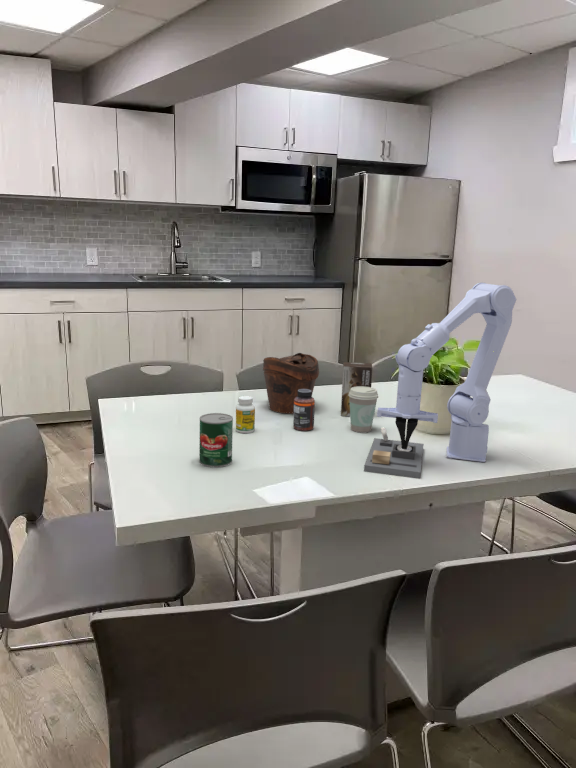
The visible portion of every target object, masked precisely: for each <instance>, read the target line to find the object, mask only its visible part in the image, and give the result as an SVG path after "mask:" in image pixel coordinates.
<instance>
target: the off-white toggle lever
mask: <svg viewBox="0 0 576 768" xmlns="http://www.w3.org/2000/svg"><path fill="white" fill-rule="evenodd" d="M380 431H381V435H382V439H384V440H389V436H388V432H387V430H386V428H385V427H381V428H380Z"/></svg>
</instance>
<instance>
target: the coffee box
mask: <svg viewBox="0 0 576 768" xmlns="http://www.w3.org/2000/svg"><path fill="white" fill-rule="evenodd" d="M342 364H343V365H342V382H341V383H342V385H341V403H340V416H341V417H350V399H349V392H350V389H351V388H352V387H357V386H364V387H371V388H372V381H373V364H372V362H371V363H370V362H354V361H353V362H349V361H348V362H347V361H343V363H342Z"/></svg>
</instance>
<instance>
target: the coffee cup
mask: <svg viewBox="0 0 576 768" xmlns="http://www.w3.org/2000/svg"><path fill="white" fill-rule="evenodd" d="M378 398H379V393H378V389H376V388H374V387H372V386H371V387H364V386H357V387H352V388H351V389H350V392H349V399H350V416H349V418H350V430H351V431H353V432H357V433H362V434H364V433H370V432H371V431H372V427H373V422H374V416H375V412H376V407H377V400H378Z"/></svg>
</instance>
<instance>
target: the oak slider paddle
mask: <svg viewBox="0 0 576 768" xmlns="http://www.w3.org/2000/svg"><path fill="white" fill-rule="evenodd" d="M390 455H391V452H385V451H377V450H374V452H373V456H372V463H380V464H388V465H389V462H390Z"/></svg>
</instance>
